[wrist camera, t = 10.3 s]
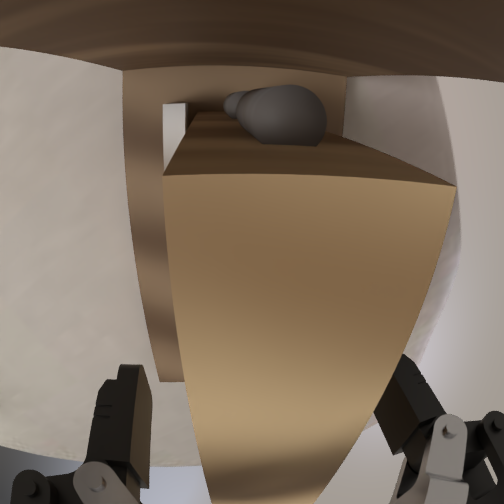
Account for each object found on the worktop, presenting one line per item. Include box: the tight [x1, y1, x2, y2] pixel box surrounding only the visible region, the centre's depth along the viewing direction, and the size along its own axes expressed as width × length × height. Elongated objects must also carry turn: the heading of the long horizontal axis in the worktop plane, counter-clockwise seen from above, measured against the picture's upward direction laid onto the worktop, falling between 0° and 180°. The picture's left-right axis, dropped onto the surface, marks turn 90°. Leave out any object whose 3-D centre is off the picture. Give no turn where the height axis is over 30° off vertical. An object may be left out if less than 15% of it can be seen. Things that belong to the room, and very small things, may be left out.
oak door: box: [162, 85, 457, 504], centre depth 13 cm, size 17×5×14 cm, turn 178°
